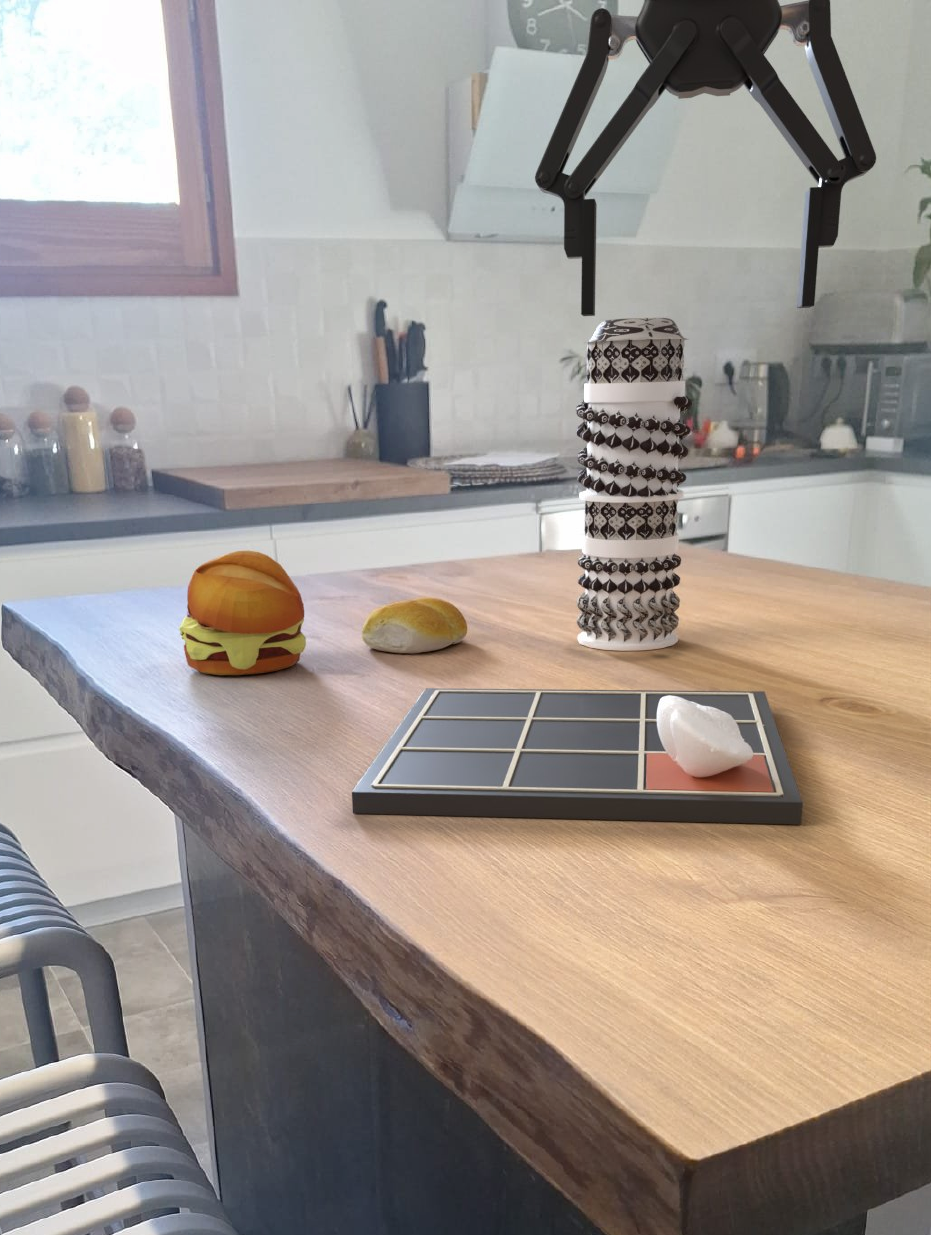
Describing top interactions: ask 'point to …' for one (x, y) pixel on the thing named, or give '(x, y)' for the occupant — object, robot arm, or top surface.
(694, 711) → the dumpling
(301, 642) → the cheeseburger
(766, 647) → the top surface
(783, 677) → the top surface
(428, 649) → the bread roll
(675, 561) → the decorative candle
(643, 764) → the board
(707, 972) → the top surface
